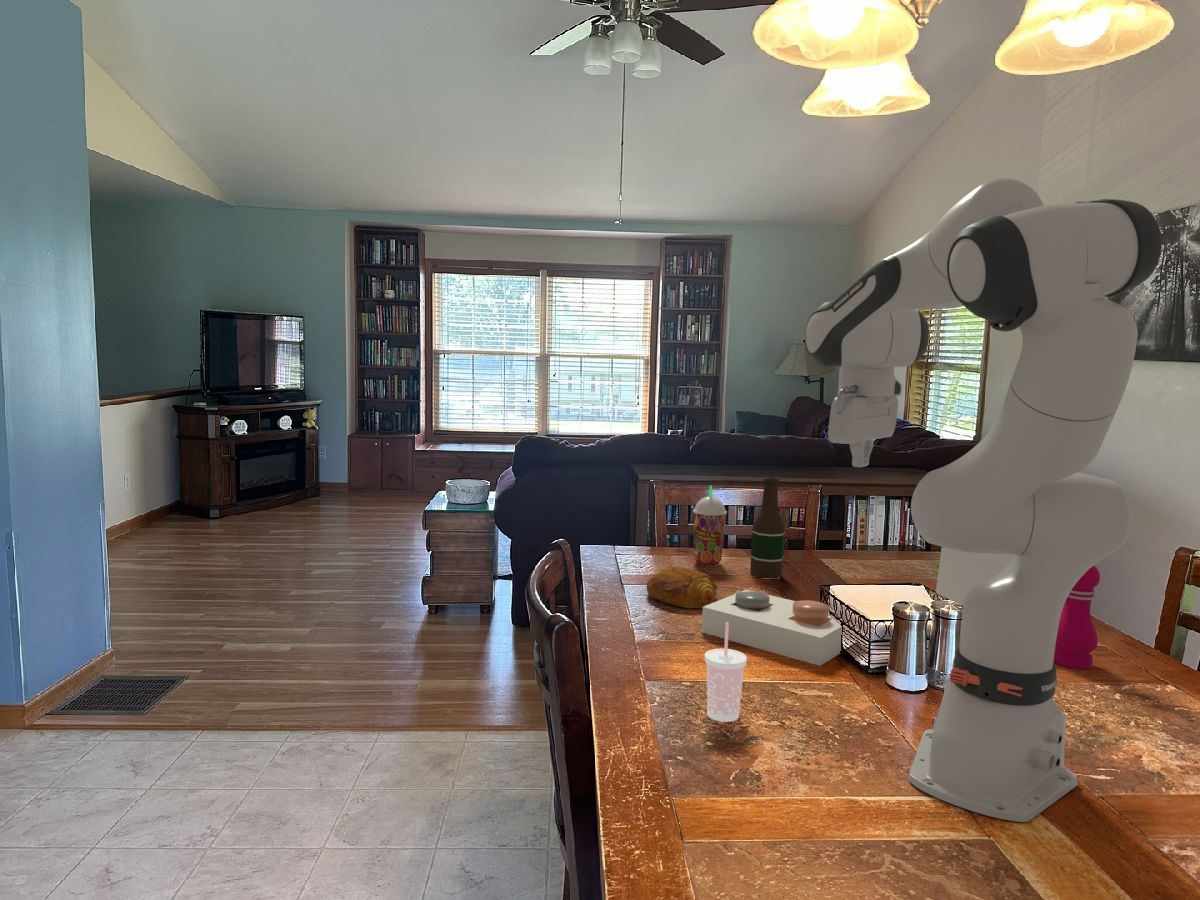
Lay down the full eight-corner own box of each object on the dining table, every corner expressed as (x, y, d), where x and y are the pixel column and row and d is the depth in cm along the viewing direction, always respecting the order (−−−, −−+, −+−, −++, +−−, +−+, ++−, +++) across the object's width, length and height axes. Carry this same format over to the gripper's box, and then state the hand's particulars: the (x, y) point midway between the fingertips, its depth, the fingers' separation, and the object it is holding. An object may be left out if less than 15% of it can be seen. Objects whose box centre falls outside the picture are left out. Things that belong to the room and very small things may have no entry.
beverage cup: (694, 709, 122) (698, 618, 120) (729, 703, 125) (733, 614, 123) (715, 727, 117) (720, 631, 115) (752, 720, 119) (757, 627, 117)
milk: (931, 620, 167) (941, 494, 164) (952, 608, 175) (962, 488, 172) (994, 635, 159) (1005, 502, 156) (1013, 621, 167) (1024, 496, 164)
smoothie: (689, 567, 203) (693, 487, 201) (691, 559, 211) (694, 482, 209) (724, 569, 202) (727, 489, 199) (724, 561, 210) (728, 484, 208)
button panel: (819, 665, 141) (821, 637, 140) (701, 632, 156) (702, 606, 155) (857, 642, 153) (859, 616, 152) (744, 613, 168) (745, 589, 167)
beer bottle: (785, 580, 193) (791, 480, 190) (752, 579, 193) (757, 479, 190) (779, 572, 201) (784, 475, 198) (747, 571, 201) (752, 474, 198)
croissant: (685, 625, 167) (690, 588, 165) (633, 596, 178) (637, 561, 176) (732, 610, 176) (737, 575, 174) (680, 583, 188) (684, 550, 186)
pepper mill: (1101, 672, 141) (1113, 558, 139) (1056, 668, 142) (1066, 555, 140) (1086, 657, 148) (1096, 548, 146) (1042, 653, 149) (1052, 545, 147)
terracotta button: (817, 649, 146) (819, 613, 145) (784, 640, 150) (786, 605, 149) (832, 639, 151) (835, 605, 150) (800, 631, 155) (802, 598, 154)
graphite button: (757, 637, 154) (759, 603, 153) (727, 629, 158) (729, 596, 157) (773, 629, 159) (775, 596, 158) (744, 621, 163) (746, 589, 162)
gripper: (858, 387, 129) (852, 474, 131) (905, 385, 145) (900, 463, 146) (821, 385, 133) (816, 469, 135) (870, 383, 149) (865, 459, 150)
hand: (860, 466), depth 141 cm, fingers closed
